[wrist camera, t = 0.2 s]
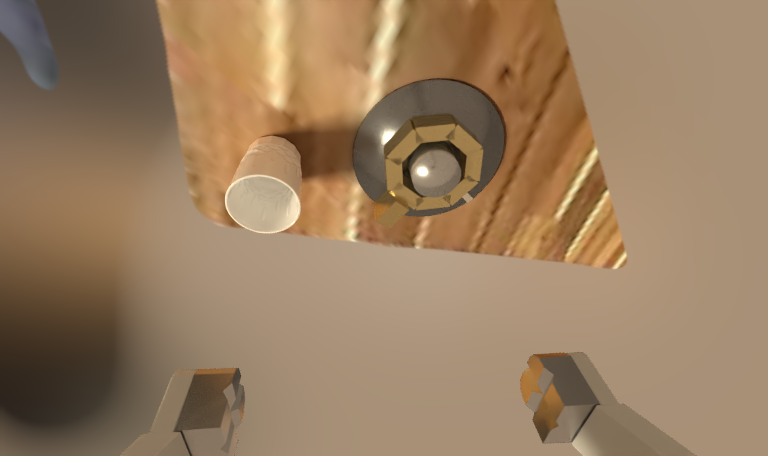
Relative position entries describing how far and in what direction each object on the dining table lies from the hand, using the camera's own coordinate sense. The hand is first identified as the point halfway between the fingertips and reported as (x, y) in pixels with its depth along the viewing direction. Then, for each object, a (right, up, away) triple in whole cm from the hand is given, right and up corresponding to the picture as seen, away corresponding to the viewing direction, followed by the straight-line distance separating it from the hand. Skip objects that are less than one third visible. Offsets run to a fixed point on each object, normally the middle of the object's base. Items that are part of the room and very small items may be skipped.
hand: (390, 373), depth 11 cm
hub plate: (+6, +14, +40) cm, 43 cm away
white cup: (-14, +13, +38) cm, 43 cm away
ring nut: (+4, +12, +40) cm, 42 cm away
